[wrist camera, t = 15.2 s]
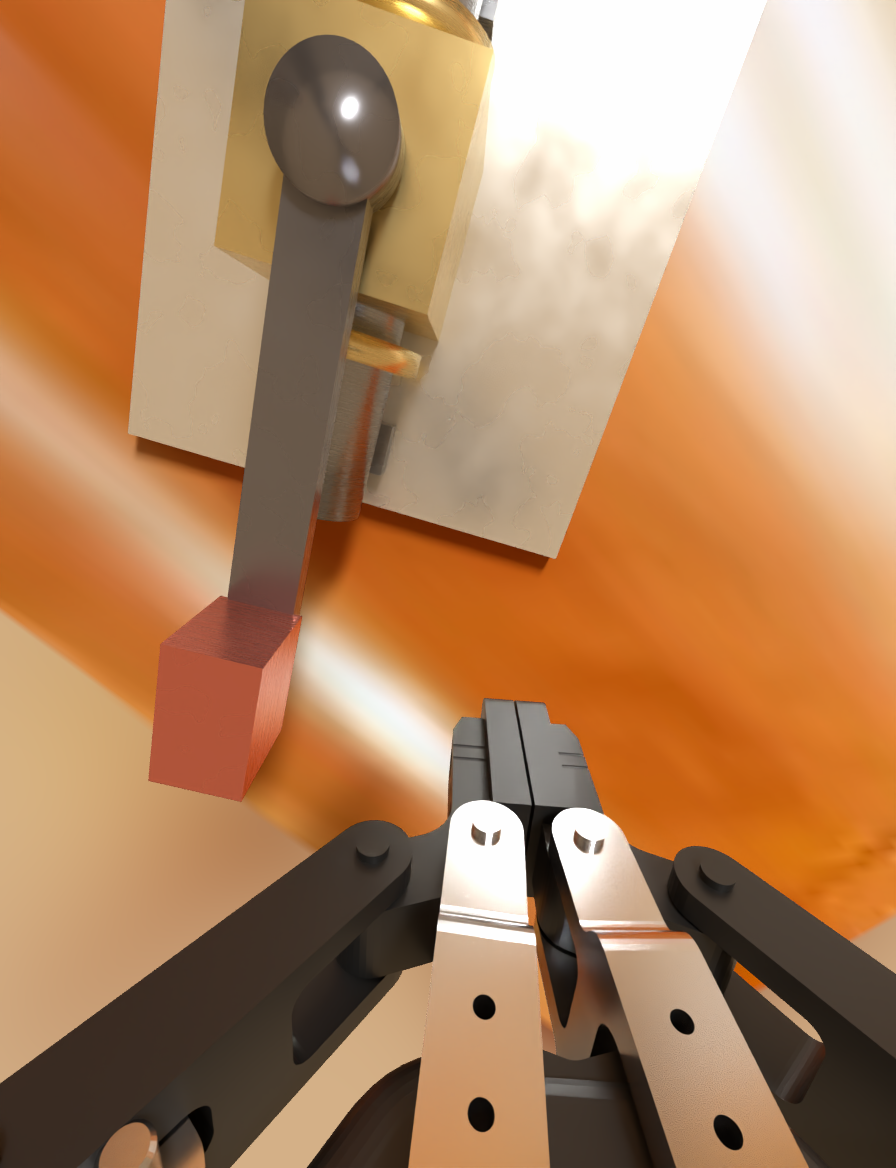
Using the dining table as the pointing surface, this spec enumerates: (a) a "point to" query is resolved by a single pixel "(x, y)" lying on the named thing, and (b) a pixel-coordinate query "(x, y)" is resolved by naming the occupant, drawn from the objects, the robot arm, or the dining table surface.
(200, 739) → the lever
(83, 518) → the dining table surface
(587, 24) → the valve
